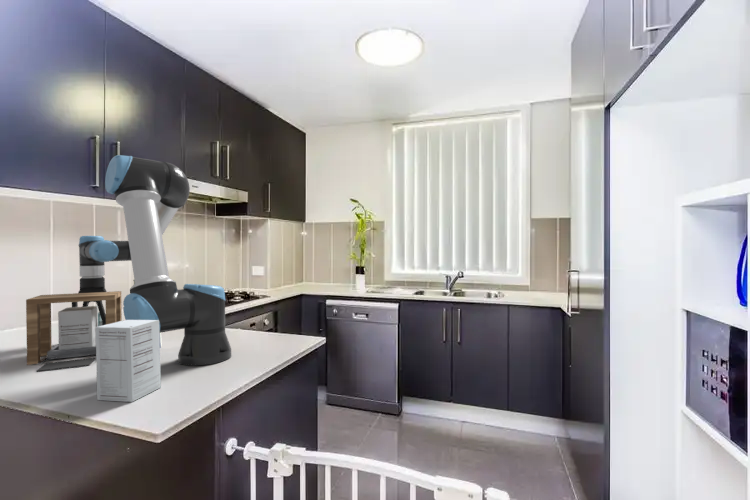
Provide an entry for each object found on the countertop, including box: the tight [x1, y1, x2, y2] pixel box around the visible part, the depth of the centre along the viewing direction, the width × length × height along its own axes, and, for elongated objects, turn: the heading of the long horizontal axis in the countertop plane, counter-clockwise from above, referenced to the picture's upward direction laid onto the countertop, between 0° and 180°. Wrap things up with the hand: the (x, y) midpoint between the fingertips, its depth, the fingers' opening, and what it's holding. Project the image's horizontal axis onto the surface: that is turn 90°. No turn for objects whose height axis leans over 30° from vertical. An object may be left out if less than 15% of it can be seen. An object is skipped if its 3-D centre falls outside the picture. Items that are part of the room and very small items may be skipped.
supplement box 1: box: [57, 305, 99, 350], centre depth 124 cm, size 9×9×15 cm
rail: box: [37, 356, 47, 365], centre depth 129 cm, size 28×16×1 cm, turn 26°
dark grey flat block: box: [36, 357, 96, 373], centre depth 112 cm, size 8×12×1 cm, turn 116°
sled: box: [46, 311, 102, 361], centre depth 131 cm, size 26×14×10 cm, turn 26°
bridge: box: [25, 290, 123, 366], centre depth 123 cm, size 12×22×20 cm, turn 116°
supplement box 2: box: [95, 319, 162, 403], centre depth 89 cm, size 10×9×17 cm
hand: (93, 339), depth 141 cm, fingers closed on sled, 4 cm apart
